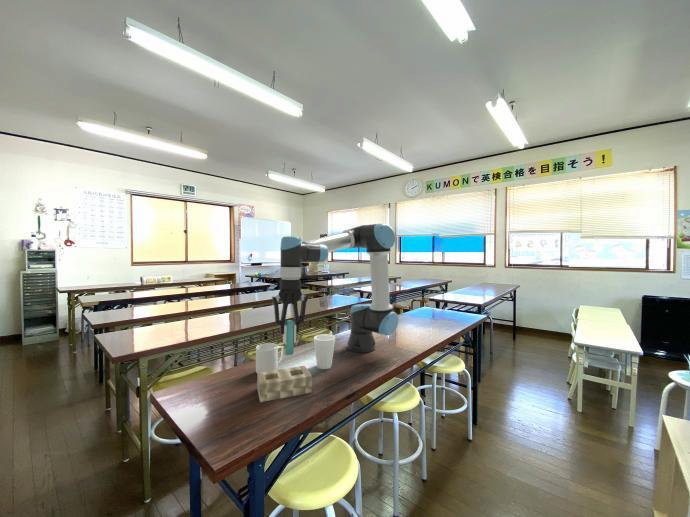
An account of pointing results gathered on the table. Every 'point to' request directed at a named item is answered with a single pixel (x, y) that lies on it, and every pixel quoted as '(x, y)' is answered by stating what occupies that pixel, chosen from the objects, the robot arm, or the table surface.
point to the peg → (289, 338)
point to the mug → (268, 357)
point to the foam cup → (324, 350)
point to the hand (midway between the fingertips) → (289, 342)
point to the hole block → (283, 383)
